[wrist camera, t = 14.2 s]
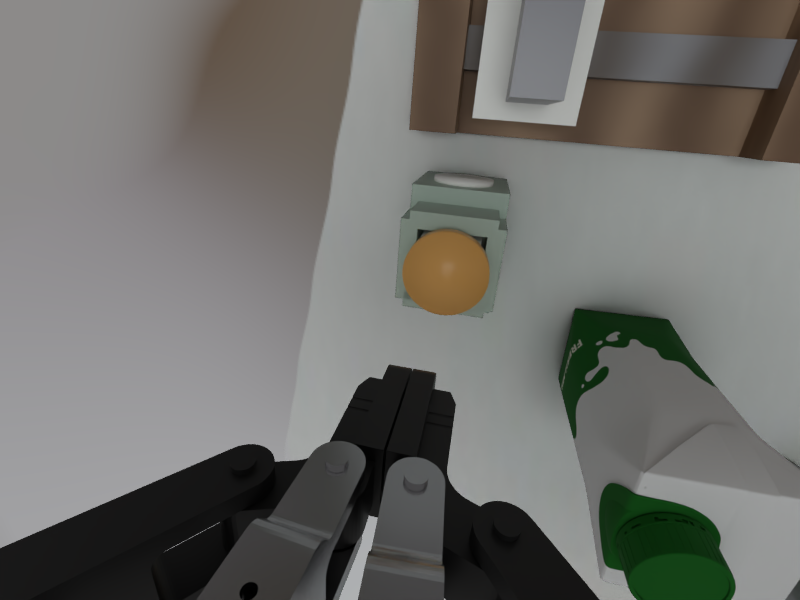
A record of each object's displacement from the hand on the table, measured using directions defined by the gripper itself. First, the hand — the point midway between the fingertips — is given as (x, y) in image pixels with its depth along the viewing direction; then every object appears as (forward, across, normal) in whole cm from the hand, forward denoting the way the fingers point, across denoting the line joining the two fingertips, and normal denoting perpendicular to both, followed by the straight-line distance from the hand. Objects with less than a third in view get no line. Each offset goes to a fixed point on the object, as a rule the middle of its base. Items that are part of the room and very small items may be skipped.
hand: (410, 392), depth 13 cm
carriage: (+19, -3, -12) cm, 23 cm away
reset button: (+15, 0, 0) cm, 15 cm away
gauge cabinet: (+22, 0, 0) cm, 23 cm away
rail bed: (+22, -8, -12) cm, 27 cm away
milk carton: (+23, -14, +9) cm, 28 cm away
